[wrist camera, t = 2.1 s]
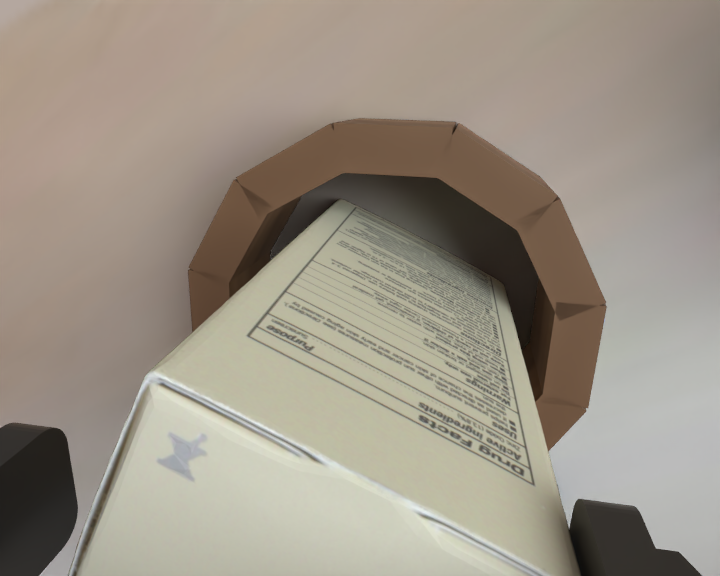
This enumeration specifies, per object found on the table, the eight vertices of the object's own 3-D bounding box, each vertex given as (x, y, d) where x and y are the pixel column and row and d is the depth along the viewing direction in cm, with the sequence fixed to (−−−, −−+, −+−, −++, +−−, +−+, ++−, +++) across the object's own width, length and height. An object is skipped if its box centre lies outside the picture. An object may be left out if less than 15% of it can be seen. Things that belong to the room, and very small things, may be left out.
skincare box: (287, 302, 20) (32, 586, 8) (340, 191, 18) (118, 352, 7) (450, 391, 20) (424, 802, 8) (518, 287, 18) (604, 617, 7)
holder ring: (603, 127, 16) (637, 135, 13) (549, 461, 20) (564, 533, 16) (230, 113, 18) (176, 116, 15) (243, 421, 21) (203, 479, 18)
